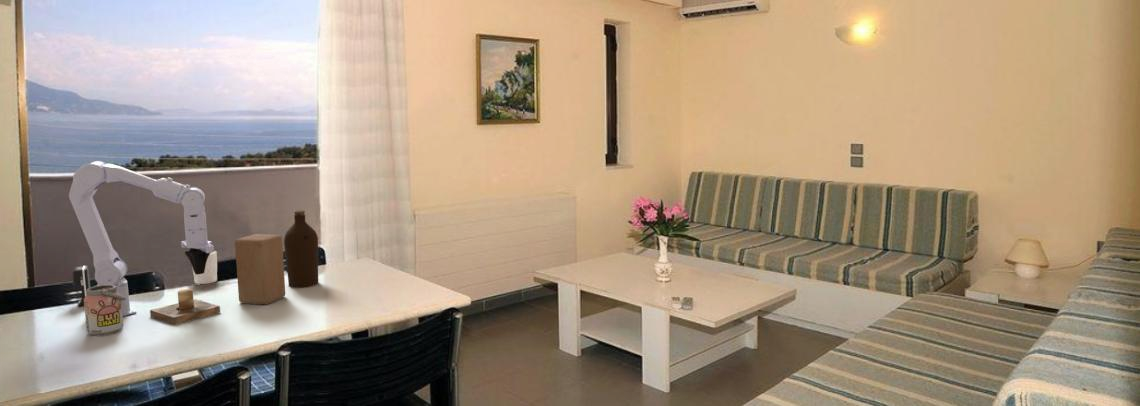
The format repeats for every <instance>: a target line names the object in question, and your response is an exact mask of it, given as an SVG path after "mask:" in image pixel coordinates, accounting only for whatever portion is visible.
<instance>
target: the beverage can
mask: <svg viewBox="0 0 1140 406" xmlns="http://www.w3.org/2000/svg"><path fill="white" fill-rule="evenodd" d="M116 290H117V287H116V286H115V285H100V286H97V285H93V286H90V288H88V289H87V290H86V293H87V295H86V297H85V298H84V315H85V325H86V332H87V333H88V334H89V335H90V336H94V337H97V336H98V337H99V336H102V337H103V336H108V335H113V334H116V333H119V332H120V331H121V330H122V329H123V328H124V316H123V314H122V304H121V300H125V299H126V297H125V296H123V295H121V294H119V293H118V292H117V291H116Z"/></svg>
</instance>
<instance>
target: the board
mask: <svg viewBox="0 0 1140 406" xmlns="http://www.w3.org/2000/svg"><path fill="white" fill-rule="evenodd" d="M193 300H194V308H192V309H189V310H179V302H178V303H174V304H170V305H165V306H161V307H157V308H153V309H152V308H151V309H149V314H150V317H151V318H153V319H156V320H160V321H163V322H166V323H169V324H172V325H178V324H182V323H186V322H189V321H194V320H198V319H201V318H205V317H208V316H213V315H217V314H220V313H221V307H220V305H218V304H214V303H210V302H207V301H203V300H200V299H194V298H193Z"/></svg>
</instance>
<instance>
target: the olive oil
mask: <svg viewBox="0 0 1140 406" xmlns="http://www.w3.org/2000/svg"><path fill="white" fill-rule="evenodd" d="M305 213H306V211H305V210H301V209H300V210H294V215H293V216H294V222H293V224H292V225H291V226H290V228H289V229H288V230H287V231H286V232H285V233H284V234H285V235H284V239H283V245H284V253H285V263H286V264H285V265H286V269H285V273H286V274H287V280H288V287H290V288H308V287H313V286H316V285H318V284H319V237H318V233H317V232H316V230H315V229H314V228H313V227H312V226H311V225H310V224H308V223H307V222H306V214H305Z"/></svg>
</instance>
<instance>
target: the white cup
mask: <svg viewBox="0 0 1140 406" xmlns="http://www.w3.org/2000/svg"><path fill="white" fill-rule="evenodd" d="M191 269H192V274H193V279H194V283H195V284H196V285H197V284H198V285H204V284H205V285H206V284H213V283H215V282H217V281H218V274H217V273H218V252H217V251H216V250H214V252H211V253H210V254H209V256H208V259H207V262H206V266H205V271H204V273H203V274H198V275H197V274H195V272H194V270H193V267H192V266H191Z"/></svg>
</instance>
